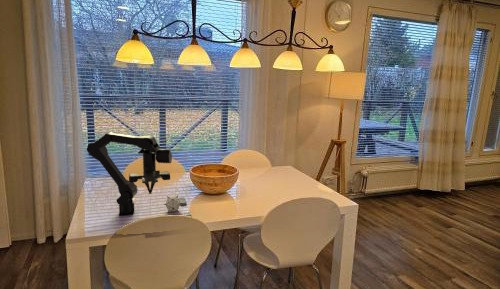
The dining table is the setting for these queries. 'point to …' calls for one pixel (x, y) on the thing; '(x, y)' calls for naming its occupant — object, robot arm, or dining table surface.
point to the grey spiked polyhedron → (172, 203)
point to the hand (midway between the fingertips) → (150, 193)
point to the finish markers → (183, 201)
